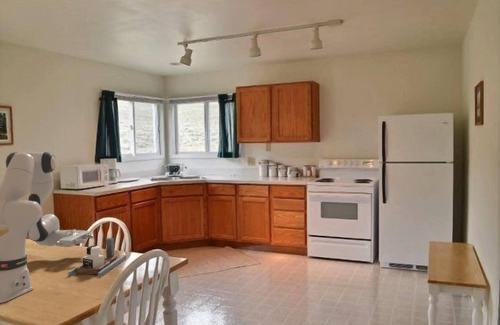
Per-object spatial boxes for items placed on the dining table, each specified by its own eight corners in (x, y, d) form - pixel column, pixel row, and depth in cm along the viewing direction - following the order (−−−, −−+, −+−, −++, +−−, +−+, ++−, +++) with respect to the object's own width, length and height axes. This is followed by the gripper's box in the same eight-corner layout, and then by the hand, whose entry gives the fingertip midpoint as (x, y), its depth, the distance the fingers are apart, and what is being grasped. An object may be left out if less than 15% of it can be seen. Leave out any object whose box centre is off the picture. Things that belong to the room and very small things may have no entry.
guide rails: (100, 276, 185) (100, 272, 184) (68, 276, 186) (68, 271, 186) (126, 258, 213) (126, 254, 213) (98, 257, 215) (98, 254, 215)
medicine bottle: (82, 271, 193) (82, 247, 192) (94, 267, 199) (93, 244, 198) (92, 273, 190) (92, 249, 189) (104, 269, 196) (103, 245, 195)
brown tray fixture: (99, 274, 188) (98, 251, 187) (75, 273, 189) (74, 250, 188) (122, 257, 213) (122, 238, 212) (101, 257, 214) (100, 237, 214)
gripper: (53, 237, 204) (78, 238, 203) (74, 228, 225) (97, 228, 223) (54, 249, 205) (78, 250, 203) (75, 239, 225) (98, 239, 224)
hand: (89, 238), depth 213 cm, fingers open, 8 cm apart
